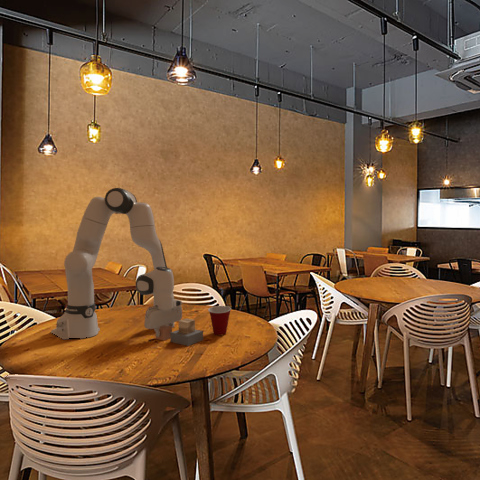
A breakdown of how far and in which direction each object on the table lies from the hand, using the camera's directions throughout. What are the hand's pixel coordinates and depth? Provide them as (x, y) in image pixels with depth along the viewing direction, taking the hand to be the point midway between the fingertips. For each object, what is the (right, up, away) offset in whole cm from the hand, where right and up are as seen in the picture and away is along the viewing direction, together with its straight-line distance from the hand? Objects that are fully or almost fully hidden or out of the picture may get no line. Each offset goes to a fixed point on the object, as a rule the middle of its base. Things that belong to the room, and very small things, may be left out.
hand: (163, 334), depth 175 cm
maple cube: (+11, +2, -4) cm, 12 cm away
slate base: (+11, -2, -4) cm, 12 cm away
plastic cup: (+24, -2, +8) cm, 26 cm away
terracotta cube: (0, -2, 0) cm, 2 cm away
